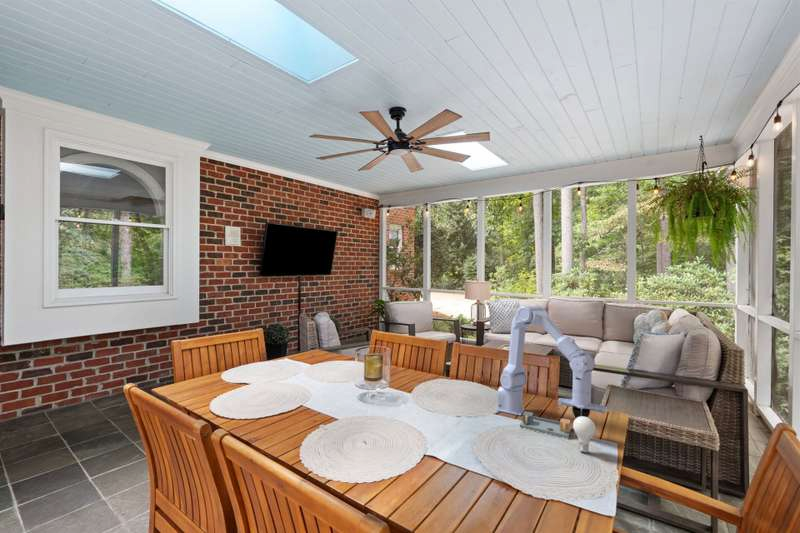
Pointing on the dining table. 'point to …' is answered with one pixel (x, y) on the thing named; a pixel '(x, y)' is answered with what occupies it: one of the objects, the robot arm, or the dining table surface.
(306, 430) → the dining table surface
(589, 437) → the lightbulb
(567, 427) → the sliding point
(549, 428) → the gauge board
